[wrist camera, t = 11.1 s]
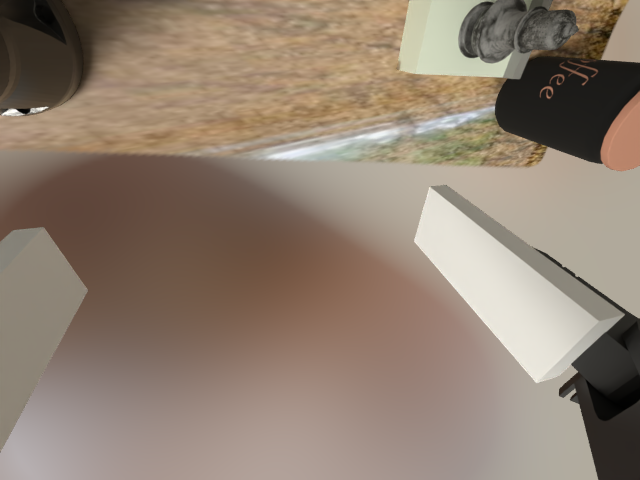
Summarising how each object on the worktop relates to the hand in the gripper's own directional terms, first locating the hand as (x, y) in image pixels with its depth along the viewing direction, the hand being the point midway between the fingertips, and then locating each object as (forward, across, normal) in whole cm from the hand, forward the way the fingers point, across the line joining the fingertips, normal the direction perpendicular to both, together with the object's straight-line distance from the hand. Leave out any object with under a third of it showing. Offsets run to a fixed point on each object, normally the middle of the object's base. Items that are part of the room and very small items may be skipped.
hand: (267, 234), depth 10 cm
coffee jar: (+31, +43, -1) cm, 53 cm away
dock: (+31, +28, +6) cm, 42 cm away
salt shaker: (+26, +28, +6) cm, 39 cm away
